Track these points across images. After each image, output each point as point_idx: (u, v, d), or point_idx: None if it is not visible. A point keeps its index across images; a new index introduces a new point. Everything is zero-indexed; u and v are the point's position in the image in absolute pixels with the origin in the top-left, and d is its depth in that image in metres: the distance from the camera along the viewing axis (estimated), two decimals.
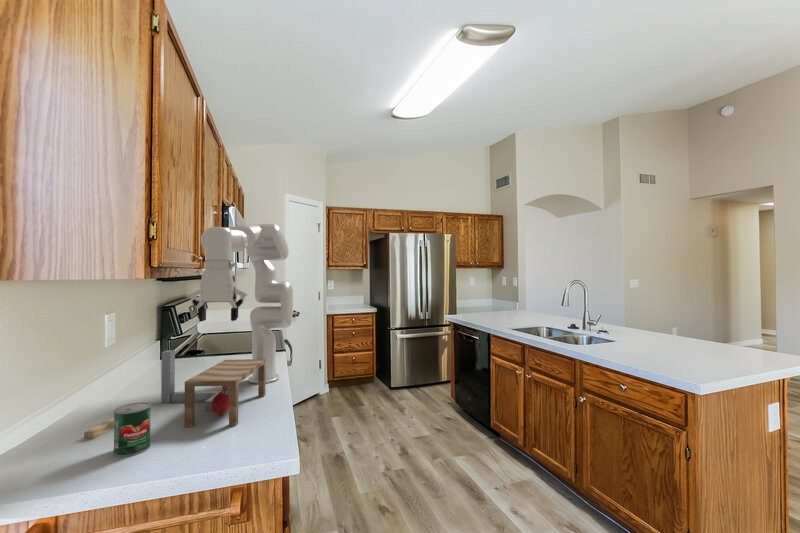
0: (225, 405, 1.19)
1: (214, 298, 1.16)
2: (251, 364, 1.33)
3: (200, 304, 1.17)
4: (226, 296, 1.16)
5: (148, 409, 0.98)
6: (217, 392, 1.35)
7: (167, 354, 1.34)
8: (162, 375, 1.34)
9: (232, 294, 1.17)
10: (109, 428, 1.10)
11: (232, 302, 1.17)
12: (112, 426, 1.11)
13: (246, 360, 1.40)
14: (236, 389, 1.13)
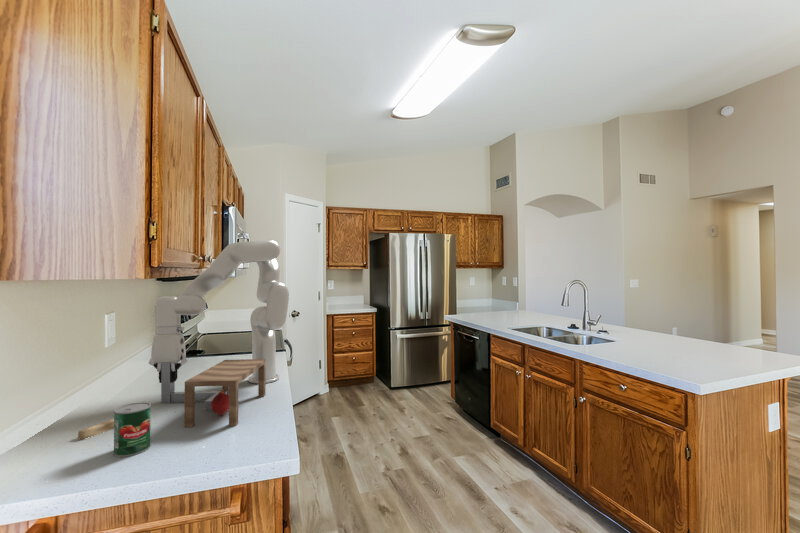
0: (225, 405, 1.19)
1: (163, 359, 1.33)
2: (251, 364, 1.33)
3: (159, 367, 1.34)
4: (174, 357, 1.33)
5: (148, 409, 0.98)
6: (217, 392, 1.35)
7: None
8: (162, 375, 1.34)
9: (180, 355, 1.34)
10: (107, 429, 1.09)
11: (173, 365, 1.34)
12: (111, 427, 1.11)
13: (246, 360, 1.40)
14: (236, 389, 1.13)
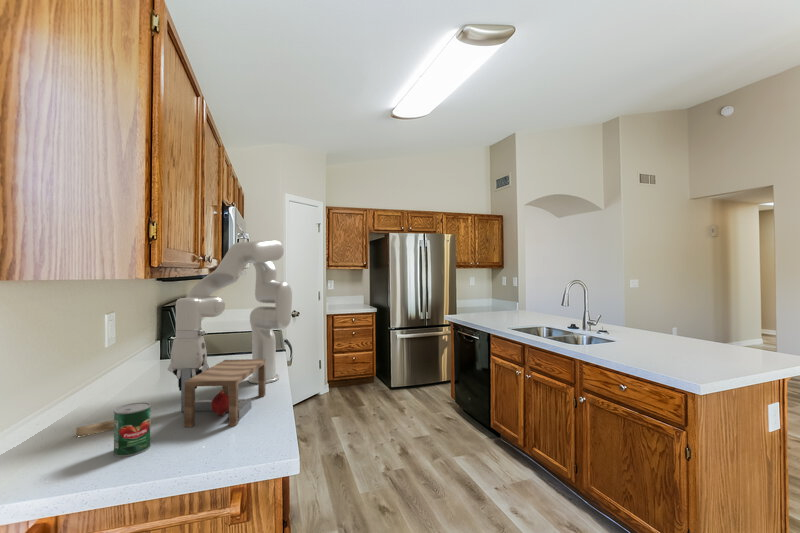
0: (225, 405, 1.19)
1: (184, 365, 1.24)
2: (251, 364, 1.33)
3: (179, 374, 1.24)
4: (195, 363, 1.24)
5: (148, 409, 0.98)
6: (241, 400, 1.26)
7: None
8: (182, 382, 1.24)
9: (201, 361, 1.25)
10: (104, 429, 1.09)
11: (194, 372, 1.25)
12: (109, 427, 1.10)
13: (246, 360, 1.40)
14: (236, 389, 1.13)
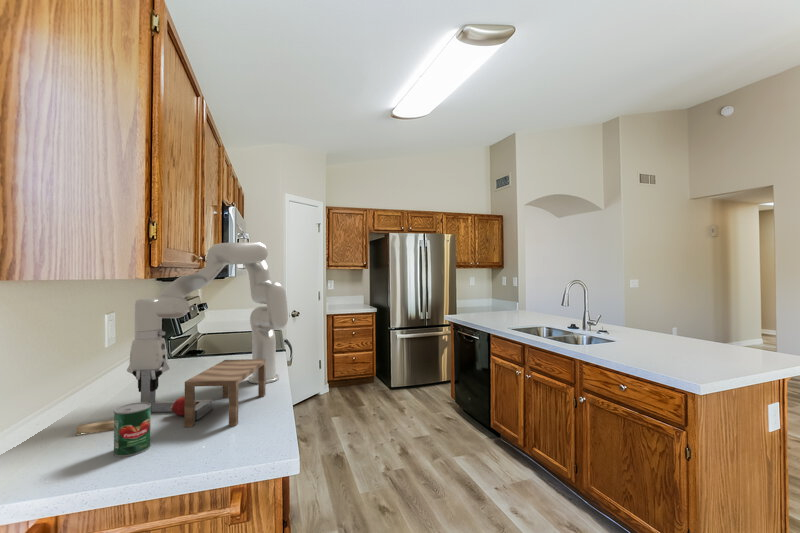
0: (179, 400, 1.20)
1: (143, 366, 1.23)
2: (251, 364, 1.33)
3: (138, 375, 1.24)
4: (154, 364, 1.23)
5: (148, 409, 0.98)
6: (201, 401, 1.25)
7: None
8: (142, 383, 1.24)
9: (160, 362, 1.24)
10: (102, 429, 1.09)
11: (154, 373, 1.24)
12: (107, 428, 1.10)
13: (246, 360, 1.40)
14: (236, 389, 1.13)
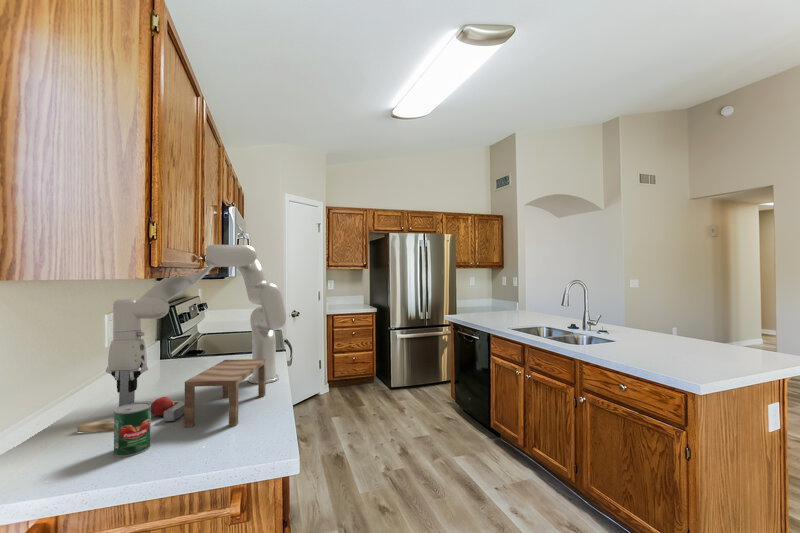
0: (157, 400, 1.20)
1: (121, 367, 1.23)
2: (251, 364, 1.33)
3: (117, 375, 1.23)
4: (133, 365, 1.23)
5: (148, 409, 0.98)
6: (180, 401, 1.25)
7: None
8: (120, 383, 1.23)
9: (139, 363, 1.24)
10: (101, 429, 1.09)
11: (132, 374, 1.24)
12: (106, 428, 1.10)
13: (246, 360, 1.40)
14: (236, 389, 1.13)
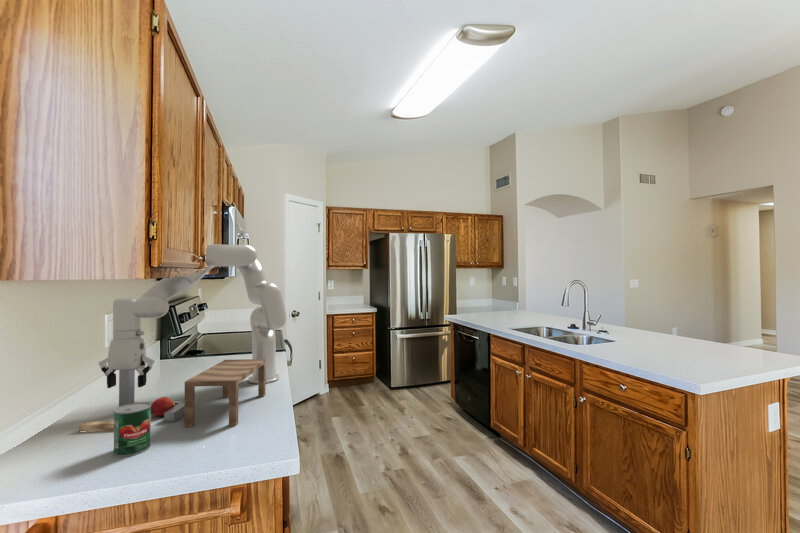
0: (158, 400, 1.20)
1: (121, 366, 1.23)
2: (251, 364, 1.33)
3: (108, 372, 1.23)
4: (132, 364, 1.23)
5: (148, 409, 0.98)
6: (180, 402, 1.25)
7: None
8: (120, 384, 1.23)
9: (139, 362, 1.24)
10: (101, 429, 1.09)
11: (139, 369, 1.24)
12: (106, 428, 1.10)
13: (246, 360, 1.40)
14: (236, 389, 1.13)
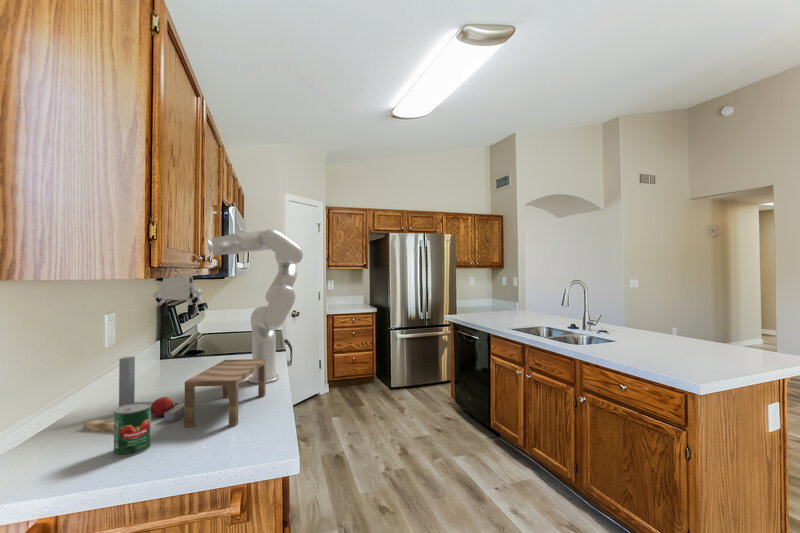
0: (158, 400, 1.20)
1: (173, 296, 1.40)
2: (251, 364, 1.33)
3: (162, 301, 1.40)
4: (183, 295, 1.40)
5: (148, 409, 0.98)
6: (180, 402, 1.25)
7: (125, 361, 1.23)
8: (120, 384, 1.23)
9: (189, 293, 1.40)
10: (101, 428, 1.10)
11: (189, 300, 1.41)
12: (104, 428, 1.10)
13: (246, 360, 1.40)
14: (236, 389, 1.13)
